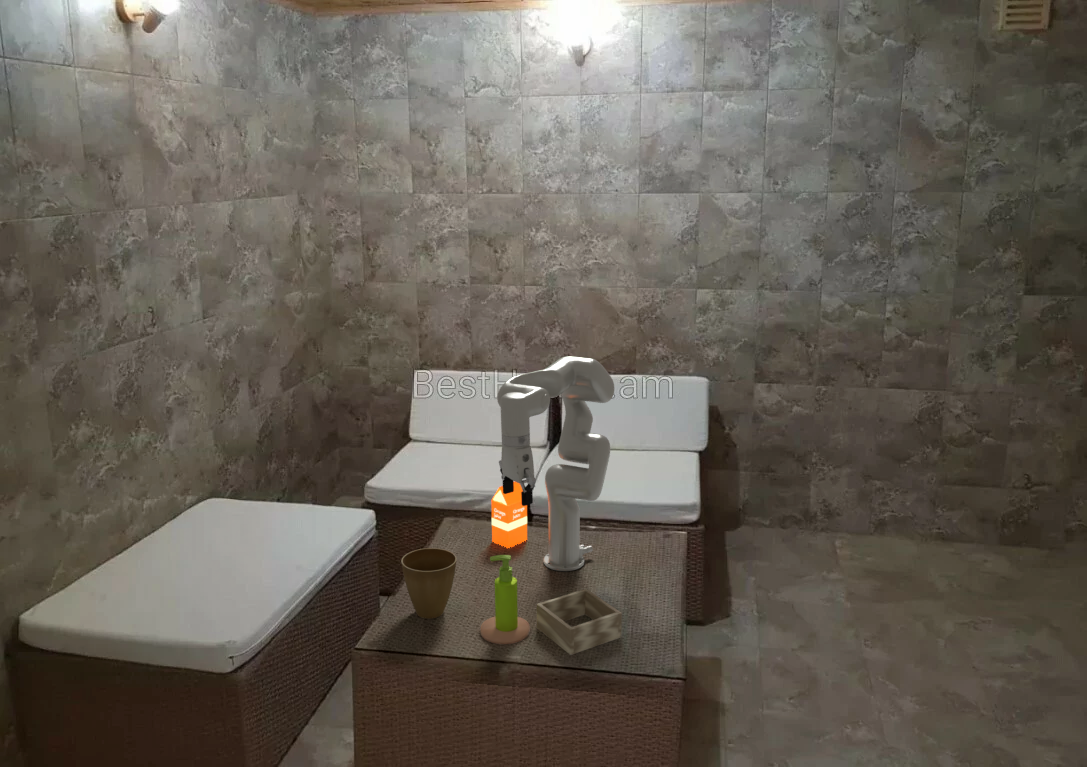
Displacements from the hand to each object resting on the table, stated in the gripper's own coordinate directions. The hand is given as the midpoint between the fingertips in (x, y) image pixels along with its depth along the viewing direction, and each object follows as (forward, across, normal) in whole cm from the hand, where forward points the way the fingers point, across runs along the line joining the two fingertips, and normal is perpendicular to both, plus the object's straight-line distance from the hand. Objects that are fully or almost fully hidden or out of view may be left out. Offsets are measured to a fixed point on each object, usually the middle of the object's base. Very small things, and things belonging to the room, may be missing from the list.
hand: (517, 498), depth 245 cm
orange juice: (+33, +38, -19) cm, 54 cm away
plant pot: (+32, +9, +23) cm, 40 cm away
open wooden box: (+32, -22, -4) cm, 39 cm away
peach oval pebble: (+31, -11, +12) cm, 35 cm away
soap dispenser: (+30, -10, +11) cm, 34 cm away
